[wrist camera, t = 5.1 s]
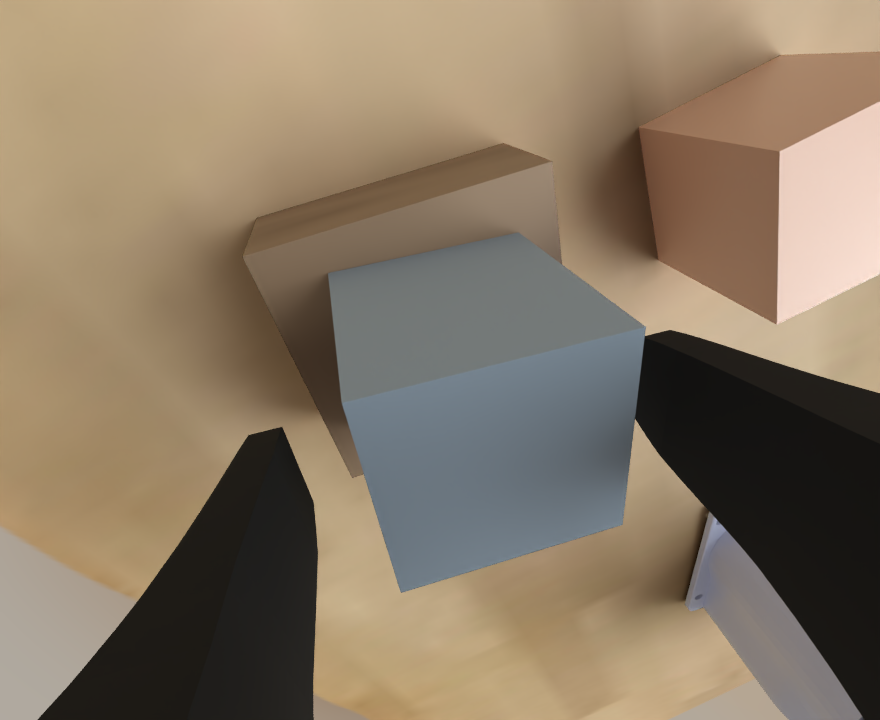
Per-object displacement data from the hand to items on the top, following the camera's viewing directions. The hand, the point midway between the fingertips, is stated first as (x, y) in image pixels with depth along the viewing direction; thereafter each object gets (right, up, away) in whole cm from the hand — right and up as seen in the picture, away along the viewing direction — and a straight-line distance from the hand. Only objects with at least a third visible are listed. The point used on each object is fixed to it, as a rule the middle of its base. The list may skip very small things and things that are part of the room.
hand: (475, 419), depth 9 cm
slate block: (-1, +2, +3) cm, 3 cm away
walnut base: (-2, +3, +6) cm, 7 cm away
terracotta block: (+8, +7, +6) cm, 12 cm away
